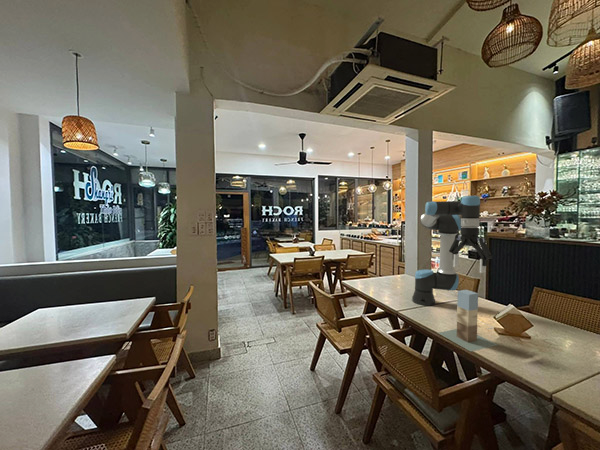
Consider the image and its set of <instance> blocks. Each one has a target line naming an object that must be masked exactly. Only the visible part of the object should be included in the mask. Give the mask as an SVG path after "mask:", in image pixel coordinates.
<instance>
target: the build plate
mask: <svg viewBox="0 0 600 450" xmlns="http://www.w3.org/2000/svg"><path fill="white" fill-rule="evenodd" d="M438 334H439V335H441V336H442V337H444V338H446V339H448V340H449V341H451V342H453V343H455V344H457V345H459V346H460V347H462V348H464V349H466V350H467V351H469V352H475V351H479V350H483V349H487V348H492V347H497V346H499V344H498V343H495V342H493V341H491V340H490V339H487V338H485V337H483V336H482V335H479V334H477V341H473V342H466V341H464V340H462V339H460V338H458V337H457V328H455V329H449V330H444V331H440V332H438Z"/></svg>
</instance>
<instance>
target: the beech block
mask: <svg viewBox="0 0 600 450" xmlns="http://www.w3.org/2000/svg"><path fill="white" fill-rule="evenodd" d="M478 309H479V308H478ZM478 309H476V310H470V311H468V310H466V309H463V308H461V307H458V306H456V323H457V322H459V323H461V324H463V325H466V326H468V327H469V326H474V325H477V326H478V321H477V320H478V314H479V313H478Z"/></svg>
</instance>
